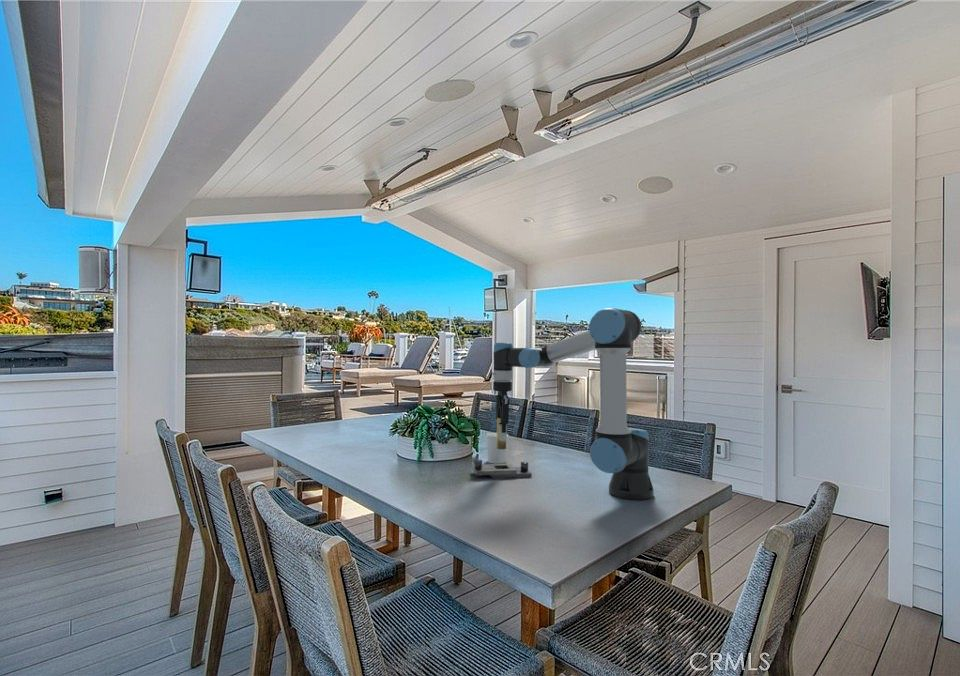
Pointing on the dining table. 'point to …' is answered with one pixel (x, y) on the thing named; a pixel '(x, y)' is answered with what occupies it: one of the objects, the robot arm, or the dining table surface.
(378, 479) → the dining table surface
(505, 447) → the toggle switch lever
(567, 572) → the dining table surface
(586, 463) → the dining table surface
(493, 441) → the candle holder
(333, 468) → the dining table surface
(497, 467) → the toggle switch plate
